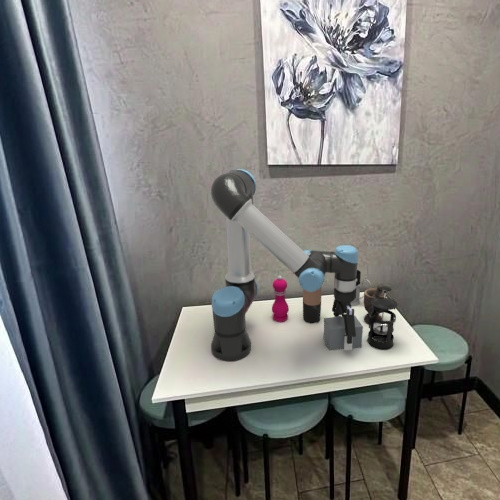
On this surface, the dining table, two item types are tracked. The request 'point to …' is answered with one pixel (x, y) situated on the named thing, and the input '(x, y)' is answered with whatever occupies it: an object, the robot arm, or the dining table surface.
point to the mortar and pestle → (370, 295)
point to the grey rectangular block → (340, 333)
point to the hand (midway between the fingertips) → (342, 339)
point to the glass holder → (358, 289)
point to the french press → (378, 326)
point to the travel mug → (312, 306)
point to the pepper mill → (280, 300)
